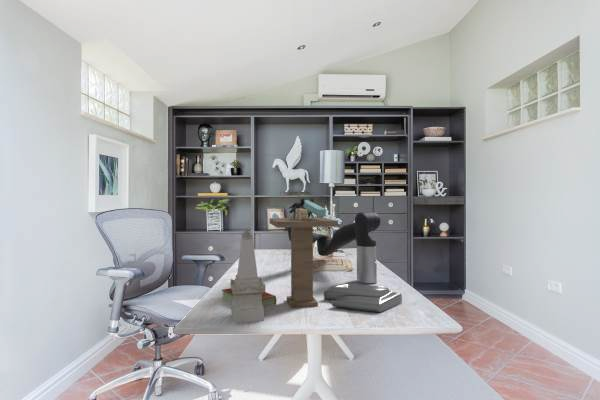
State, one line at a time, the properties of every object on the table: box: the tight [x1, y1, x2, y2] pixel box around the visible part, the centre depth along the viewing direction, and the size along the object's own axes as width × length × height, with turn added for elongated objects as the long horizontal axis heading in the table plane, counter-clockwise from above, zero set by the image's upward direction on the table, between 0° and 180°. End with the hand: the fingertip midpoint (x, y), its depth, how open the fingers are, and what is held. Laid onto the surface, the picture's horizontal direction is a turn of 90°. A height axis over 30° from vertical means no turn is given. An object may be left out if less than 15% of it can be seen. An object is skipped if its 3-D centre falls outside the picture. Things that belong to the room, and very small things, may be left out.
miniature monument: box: [230, 228, 266, 325], centre depth 117 cm, size 10×10×30 cm
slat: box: [303, 199, 327, 217], centre depth 139 cm, size 28×3×2 cm, turn 12°
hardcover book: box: [221, 287, 277, 308], centre depth 135 cm, size 12×21×4 cm, turn 39°
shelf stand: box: [269, 209, 339, 309], centre depth 132 cm, size 22×22×36 cm
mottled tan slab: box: [313, 257, 355, 273], centre depth 203 cm, size 28×6×30 cm
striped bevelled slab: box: [323, 283, 403, 313], centre depth 134 cm, size 28×5×28 cm
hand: (307, 200), depth 148 cm, fingers closed on slat, 3 cm apart
